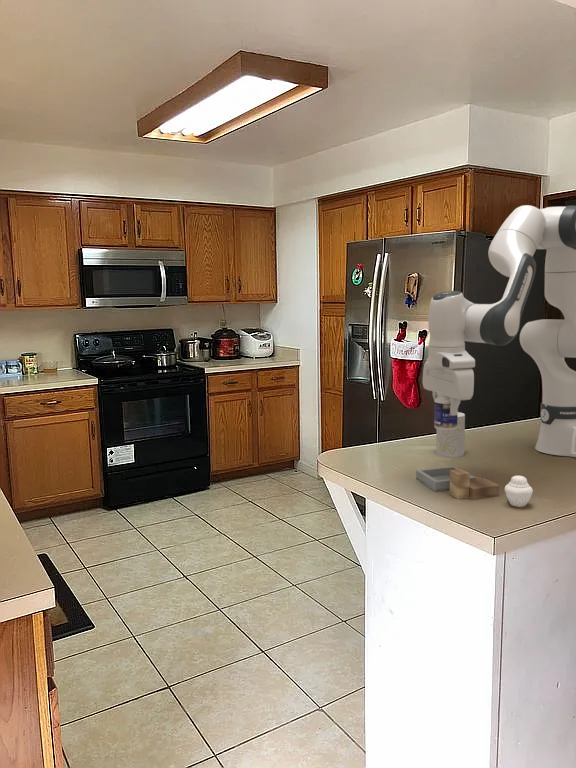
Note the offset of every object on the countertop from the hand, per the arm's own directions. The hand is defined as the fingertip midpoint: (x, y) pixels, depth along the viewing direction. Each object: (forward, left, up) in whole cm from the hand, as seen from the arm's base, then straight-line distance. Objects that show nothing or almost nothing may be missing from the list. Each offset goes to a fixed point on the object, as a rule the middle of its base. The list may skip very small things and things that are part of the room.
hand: (446, 412), depth 162 cm
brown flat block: (-3, +10, -19) cm, 22 cm away
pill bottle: (0, 0, -4) cm, 4 cm away
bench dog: (+2, +10, -18) cm, 21 cm away
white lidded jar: (-8, +20, -19) cm, 28 cm away
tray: (0, 0, -18) cm, 19 cm away
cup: (-15, -25, -19) cm, 35 cm away
